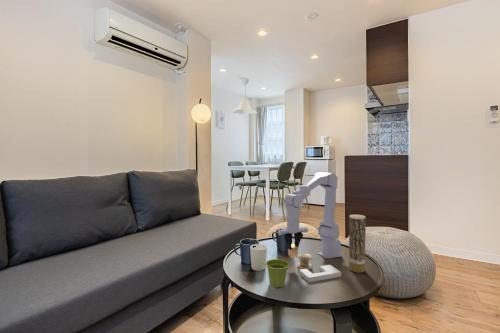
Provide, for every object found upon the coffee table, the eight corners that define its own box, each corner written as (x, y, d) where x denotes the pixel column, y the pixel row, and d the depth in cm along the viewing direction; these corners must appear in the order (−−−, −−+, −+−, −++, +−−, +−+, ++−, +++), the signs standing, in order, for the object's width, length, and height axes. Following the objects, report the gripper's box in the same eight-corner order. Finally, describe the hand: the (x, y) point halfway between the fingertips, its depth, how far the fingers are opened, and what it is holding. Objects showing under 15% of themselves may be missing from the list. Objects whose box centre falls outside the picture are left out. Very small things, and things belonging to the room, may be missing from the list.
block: (293, 254, 123) (293, 243, 123) (297, 257, 119) (297, 246, 119) (288, 254, 122) (288, 244, 122) (292, 258, 118) (292, 247, 118)
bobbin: (307, 262, 127) (307, 252, 127) (314, 268, 120) (314, 257, 120) (294, 264, 125) (294, 254, 124) (301, 270, 118) (301, 259, 118)
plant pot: (274, 276, 113) (274, 257, 112) (293, 283, 107) (293, 262, 106) (261, 285, 105) (261, 264, 105) (280, 292, 100) (280, 270, 99)
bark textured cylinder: (366, 273, 114) (367, 218, 113) (350, 272, 116) (350, 217, 115) (363, 267, 121) (363, 214, 120) (347, 266, 122) (348, 214, 121)
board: (329, 268, 120) (330, 264, 120) (341, 276, 112) (341, 271, 112) (299, 274, 115) (299, 269, 115) (308, 282, 107) (308, 277, 107)
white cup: (267, 264, 125) (267, 244, 125) (266, 271, 117) (266, 250, 117) (251, 264, 126) (250, 243, 126) (249, 271, 118) (249, 249, 118)
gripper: (302, 216, 126) (302, 244, 126) (275, 219, 121) (275, 247, 122) (310, 220, 119) (310, 249, 120) (281, 222, 114) (281, 252, 115)
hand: (293, 248), depth 120 cm, fingers closed on block, 3 cm apart
